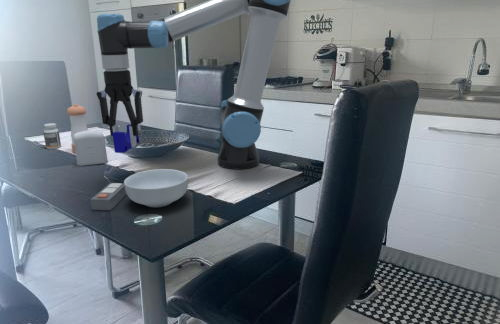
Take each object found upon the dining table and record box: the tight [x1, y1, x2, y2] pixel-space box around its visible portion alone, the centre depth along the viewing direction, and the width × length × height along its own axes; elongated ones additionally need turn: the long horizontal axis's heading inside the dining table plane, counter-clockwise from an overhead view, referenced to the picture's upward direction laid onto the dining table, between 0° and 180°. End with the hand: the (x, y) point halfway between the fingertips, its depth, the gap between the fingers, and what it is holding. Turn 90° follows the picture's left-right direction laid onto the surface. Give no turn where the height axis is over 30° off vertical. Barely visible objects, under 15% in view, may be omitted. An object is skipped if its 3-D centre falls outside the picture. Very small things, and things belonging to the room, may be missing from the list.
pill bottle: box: [42, 122, 62, 150], centre depth 159 cm, size 6×6×10 cm
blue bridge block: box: [112, 123, 140, 154], centre depth 118 cm, size 12×4×6 cm, turn 175°
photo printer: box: [74, 129, 109, 167], centre depth 136 cm, size 10×4×12 cm, turn 110°
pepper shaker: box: [66, 103, 89, 154], centre depth 151 cm, size 7×7×19 cm
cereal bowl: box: [123, 168, 189, 208], centre depth 104 cm, size 17×17×7 cm
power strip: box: [90, 182, 127, 211], centre depth 106 cm, size 5×15×4 cm, turn 176°
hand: (125, 145), depth 119 cm, fingers closed on blue bridge block, 5 cm apart
